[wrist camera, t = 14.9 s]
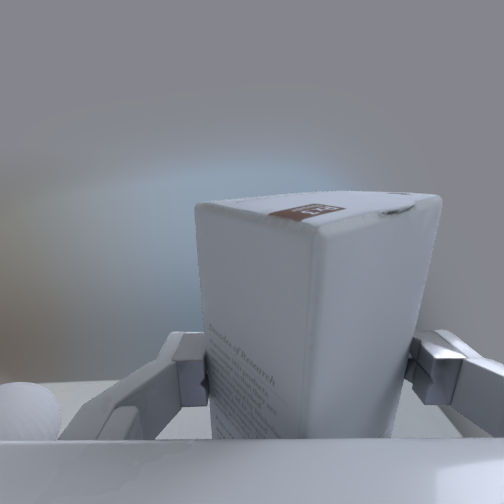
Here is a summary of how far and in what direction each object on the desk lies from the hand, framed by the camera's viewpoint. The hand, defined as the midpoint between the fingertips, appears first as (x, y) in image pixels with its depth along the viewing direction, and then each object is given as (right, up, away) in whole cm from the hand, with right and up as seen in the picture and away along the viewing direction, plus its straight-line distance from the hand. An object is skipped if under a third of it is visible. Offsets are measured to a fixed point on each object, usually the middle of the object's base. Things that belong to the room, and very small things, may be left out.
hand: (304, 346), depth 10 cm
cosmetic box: (0, -7, +1) cm, 7 cm away
